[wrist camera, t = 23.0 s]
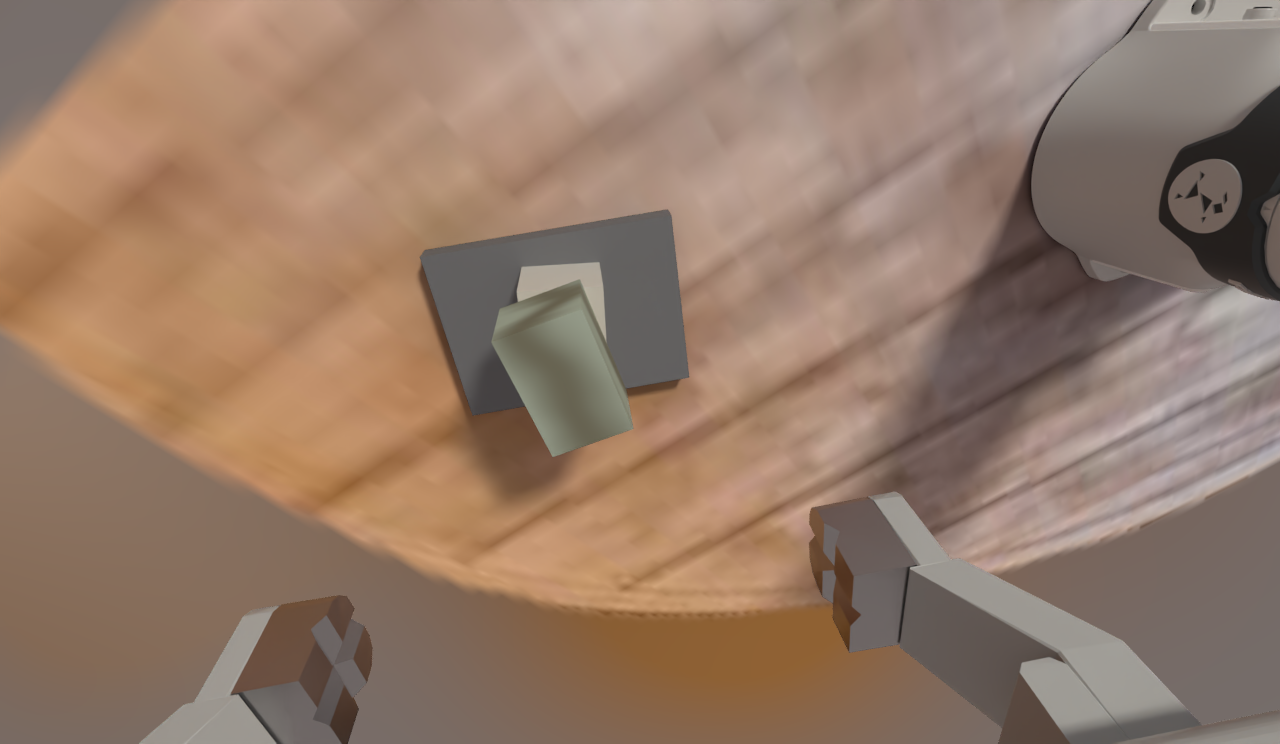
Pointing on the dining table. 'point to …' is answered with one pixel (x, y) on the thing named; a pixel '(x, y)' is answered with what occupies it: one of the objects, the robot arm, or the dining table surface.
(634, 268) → the base plate
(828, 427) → the dining table surface
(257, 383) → the dining table surface
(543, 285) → the cream brick
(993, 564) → the dining table surface
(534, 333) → the sage brick
